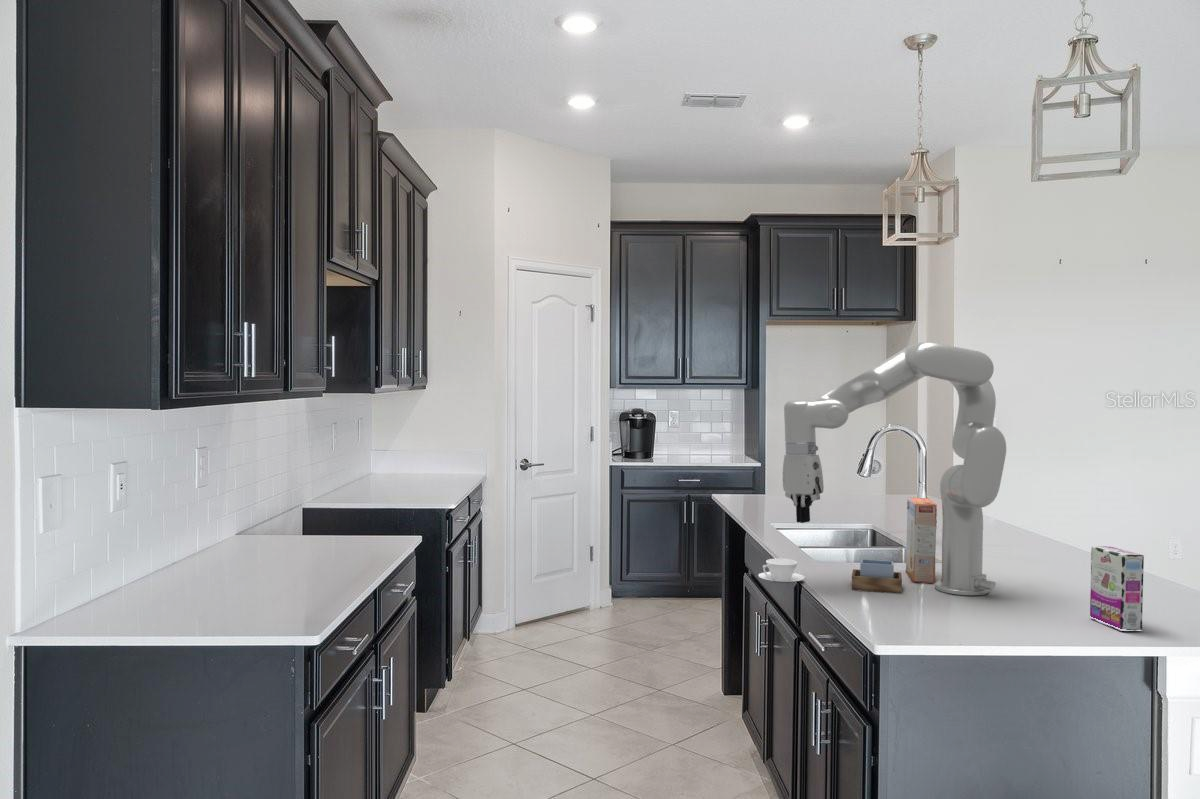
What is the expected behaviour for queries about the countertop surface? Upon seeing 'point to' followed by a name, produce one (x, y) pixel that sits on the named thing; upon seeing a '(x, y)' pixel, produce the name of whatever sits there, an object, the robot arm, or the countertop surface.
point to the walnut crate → (877, 583)
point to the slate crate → (876, 568)
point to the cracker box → (921, 540)
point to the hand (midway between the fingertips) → (803, 521)
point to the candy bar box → (1117, 587)
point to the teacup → (781, 571)
